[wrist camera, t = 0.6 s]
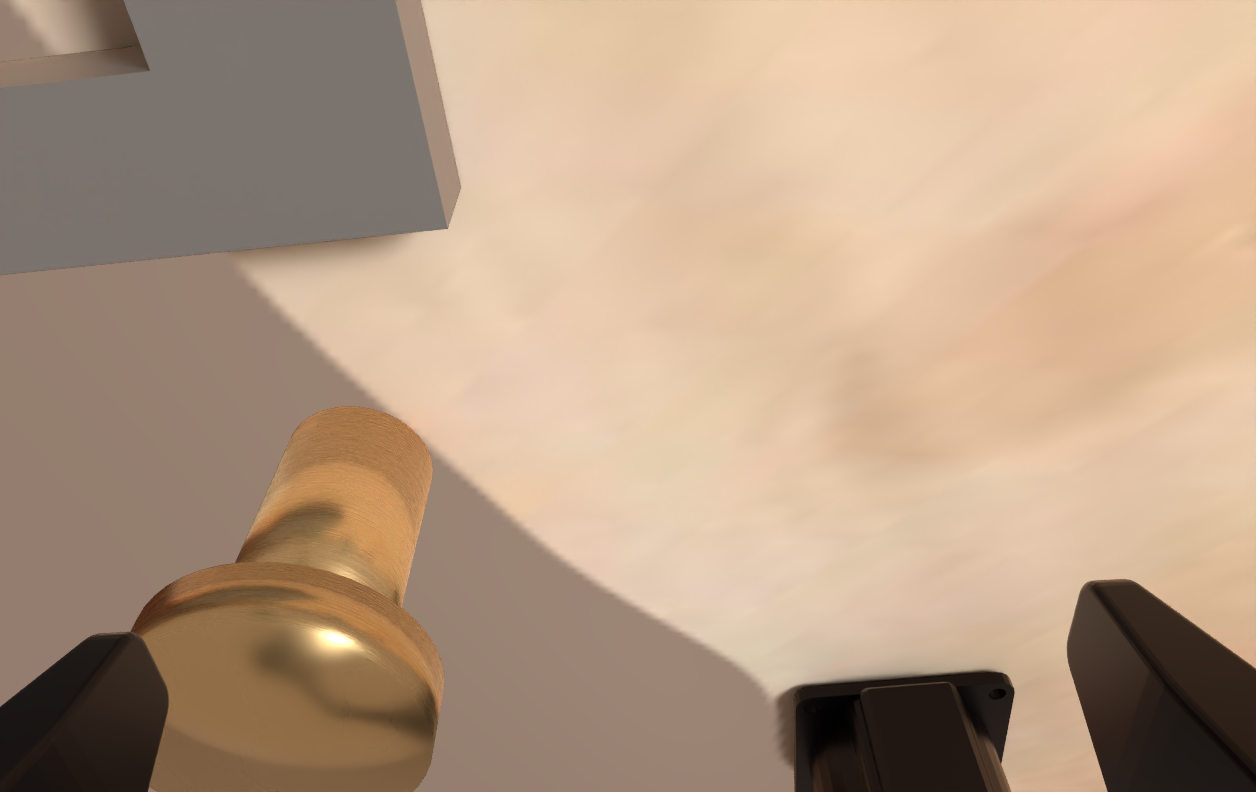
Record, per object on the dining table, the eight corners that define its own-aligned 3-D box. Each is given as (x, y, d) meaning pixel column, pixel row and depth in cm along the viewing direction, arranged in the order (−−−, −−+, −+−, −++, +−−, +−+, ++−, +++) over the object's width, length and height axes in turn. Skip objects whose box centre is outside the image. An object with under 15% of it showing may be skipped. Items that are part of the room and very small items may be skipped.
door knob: (499, 541, 26) (462, 818, 20) (280, 560, 26) (170, 839, 20) (453, 353, 23) (389, 611, 16) (202, 377, 23) (39, 641, 16)
